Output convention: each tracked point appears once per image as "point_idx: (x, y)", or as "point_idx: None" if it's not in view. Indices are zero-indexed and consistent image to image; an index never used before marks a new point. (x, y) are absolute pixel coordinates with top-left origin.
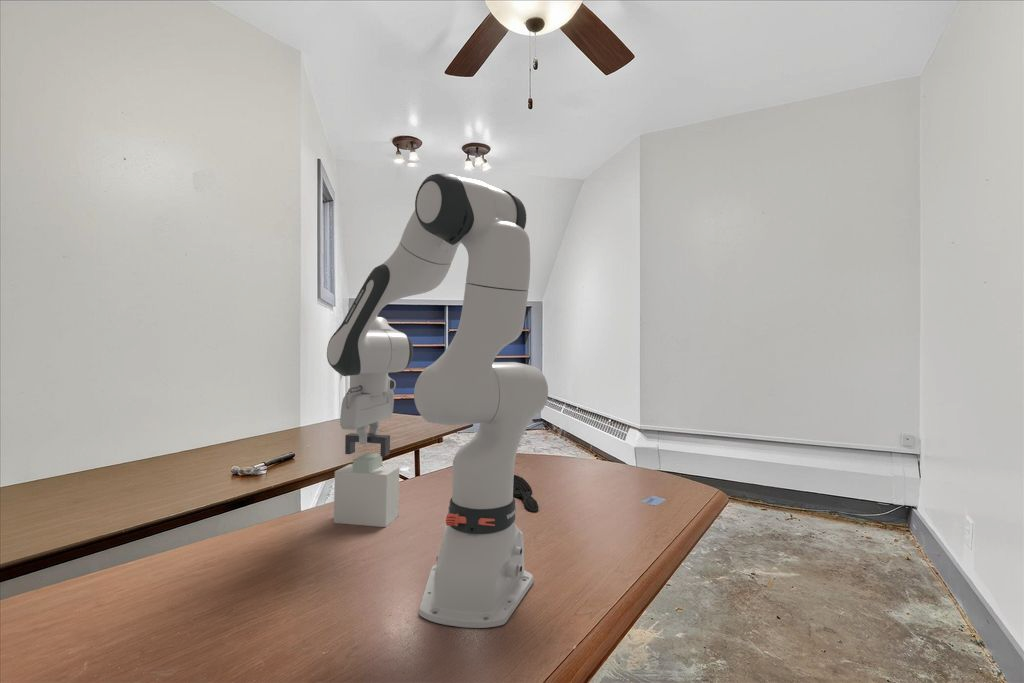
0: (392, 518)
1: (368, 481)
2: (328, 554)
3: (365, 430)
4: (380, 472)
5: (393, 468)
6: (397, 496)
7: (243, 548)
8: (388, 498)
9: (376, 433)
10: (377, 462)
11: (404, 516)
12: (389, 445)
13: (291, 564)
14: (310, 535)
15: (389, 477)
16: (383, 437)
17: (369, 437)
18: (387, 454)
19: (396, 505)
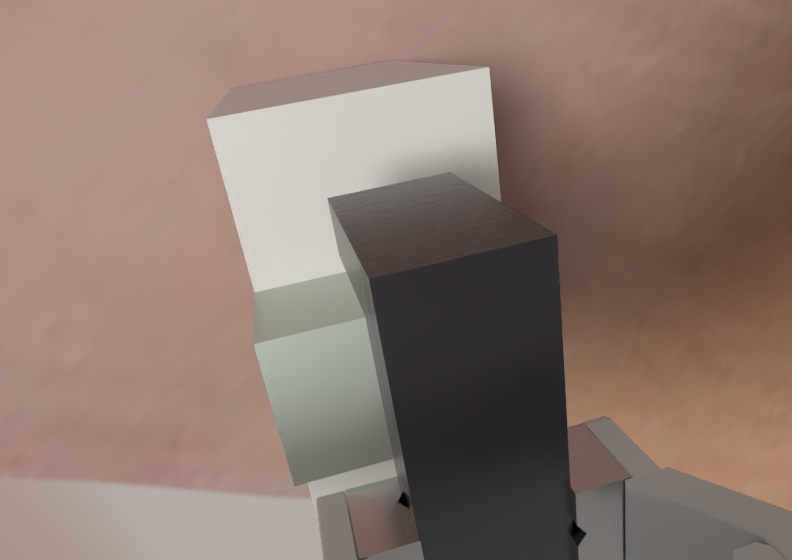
0: (313, 75)
1: None
2: (698, 113)
3: (787, 523)
4: (440, 169)
5: (275, 144)
6: (246, 93)
7: (698, 405)
8: (396, 68)
9: (330, 556)
10: (354, 292)
11: (211, 55)
12: (354, 226)
13: (780, 178)
14: (565, 305)
15: (422, 75)
16: (558, 270)
17: (564, 470)
18: (394, 185)
19: (260, 87)
